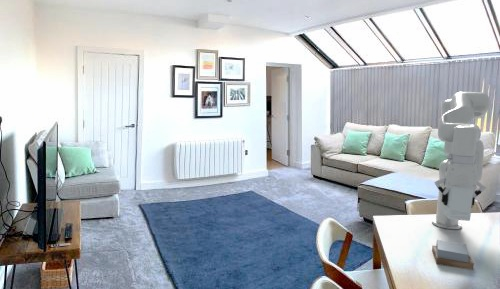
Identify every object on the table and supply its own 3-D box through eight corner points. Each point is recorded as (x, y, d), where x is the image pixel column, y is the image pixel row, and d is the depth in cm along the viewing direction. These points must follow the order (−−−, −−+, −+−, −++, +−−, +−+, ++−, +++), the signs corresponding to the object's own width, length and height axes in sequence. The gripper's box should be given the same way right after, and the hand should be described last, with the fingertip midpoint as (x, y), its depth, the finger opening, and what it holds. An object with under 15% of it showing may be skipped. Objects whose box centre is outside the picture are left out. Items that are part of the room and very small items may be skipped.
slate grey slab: (436, 246, 146) (436, 239, 146) (464, 251, 142) (465, 244, 141) (437, 256, 137) (438, 249, 137) (467, 262, 133) (468, 254, 132)
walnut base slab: (431, 252, 148) (432, 245, 147) (465, 257, 144) (466, 250, 143) (436, 265, 136) (437, 258, 136) (473, 271, 133) (474, 263, 132)
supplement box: (470, 221, 133) (474, 187, 131) (448, 219, 134) (452, 186, 132) (463, 214, 140) (466, 182, 138) (442, 212, 142) (445, 181, 140)
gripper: (437, 159, 133) (433, 205, 136) (492, 163, 127) (486, 211, 130) (434, 155, 140) (430, 199, 143) (486, 159, 135) (481, 205, 137)
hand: (457, 205), depth 137 cm, fingers closed on supplement box, 7 cm apart
